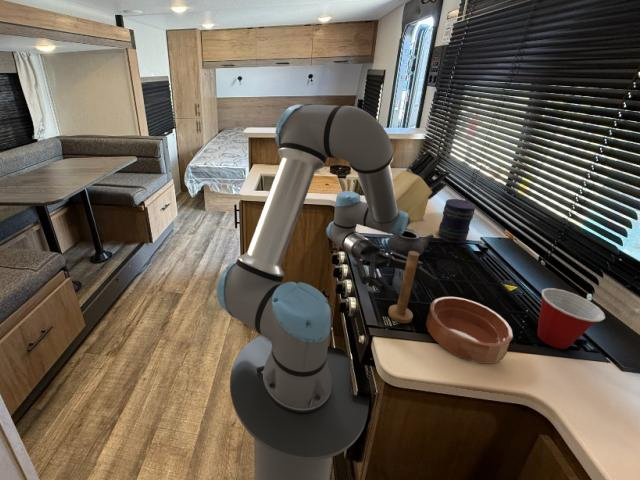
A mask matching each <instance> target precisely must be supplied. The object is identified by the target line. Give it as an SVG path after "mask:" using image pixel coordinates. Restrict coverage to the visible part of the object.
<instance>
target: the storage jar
mask: <svg viewBox="0 0 640 480" xmlns="http://www.w3.org/2000/svg"><path fill="white" fill-rule="evenodd" d="M476 207H477V206H476V204H475V203H473V202H471V201H469V200H465V199H459V198H450V199H447V200H446V201H445V204H444V207H443V211H442V218H441V221H440V223H439V226H438V232H437V236H438V238H440V239H441V240H443V241H446V242H448V243H451V244H452V243H453V244H463V243H465V242H466V241H467V238H468V235H469V231H470V224H471V222H472V220H473V218H474V215H475V210H476Z"/></svg>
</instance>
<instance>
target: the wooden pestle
mask: <svg viewBox="0 0 640 480" xmlns="http://www.w3.org/2000/svg"><path fill="white" fill-rule="evenodd" d="M419 258H420V256H419V253H417V252H415V251H409V253H408V258H407V262H406V267H405V270H403V271H404V272H403V277H402V281H401V286H400V290H399V295H398V299H397V304H392V305H390V306H389V308H388V311H387V313H388V316H389V318H391V319H392V320H393V321H395V322H397V323H400V324H409V323H412V321H413V317H414V314H413V312H412V310H411V309H409V308H408V305H409V300H410V297H411V292H412V289H413V283H414V279H415V271H416V267H417V263H418V261H419Z"/></svg>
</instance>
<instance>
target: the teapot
mask: <svg viewBox="0 0 640 480" xmlns="http://www.w3.org/2000/svg"><path fill="white" fill-rule="evenodd" d="M410 224H411V221H410V217H409V216H408V223H407V226H406V229H405V231H404V233H403V234H402V235H400V236H397V235H393V234H391V236H389V238H388V240H387V242H386V247H387V249H388V250H392V251H394V252H395V253H398V254H400V255H403V256H406V257H408V253H409V251H415V252H417V253H419V257H420V256H422V255H423V253H424V251H425V250H426V249H427V247H428V245H429V243H430V241H432V239H433V238H435V235H434V234H433V233H429V234H427V235H425V236H421V234H420V233H419V232H417V231H416V230H414V229H411V228H408V227H409V225H410Z"/></svg>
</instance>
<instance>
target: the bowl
mask: <svg viewBox="0 0 640 480" xmlns="http://www.w3.org/2000/svg"><path fill="white" fill-rule="evenodd" d="M425 326H426V329H427V332H428V333H429V335H430V336H431V337H432V339H433V340H434V341H435V342H436V343H438V344H439V345H440V346H441V347H442V348H443V349H445V350H447V351H448V352H451V353H452V354H454V355H455V356H457V357H460V358H463V359H465V360H468V361H472V362H475V363H476V362H477V363H481V364H490V363H491V364H494V363H497V362H499V361H502V360H504V358H505V356H506V355H507V354H508V353H507V352H508V350H509V349H510V346H511V343H512V341H513V339H514V334H513V329H512V327H511V326H510V325H509V323H508V321H507V320H505V319H504V318H503V317H502V316H501V315H500V314H499V313H497V312H496V311H494V310H493V309H491V308H489V307H488V306H485V305H483V304H481V303H480V302H476V301H473V300H471V299H467V298H464V297H457V296H441V297H438V298H435V299H434V300H433V301H432V302H431V303H430V306H429V310H428V313H427V317H426V320H425Z"/></svg>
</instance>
